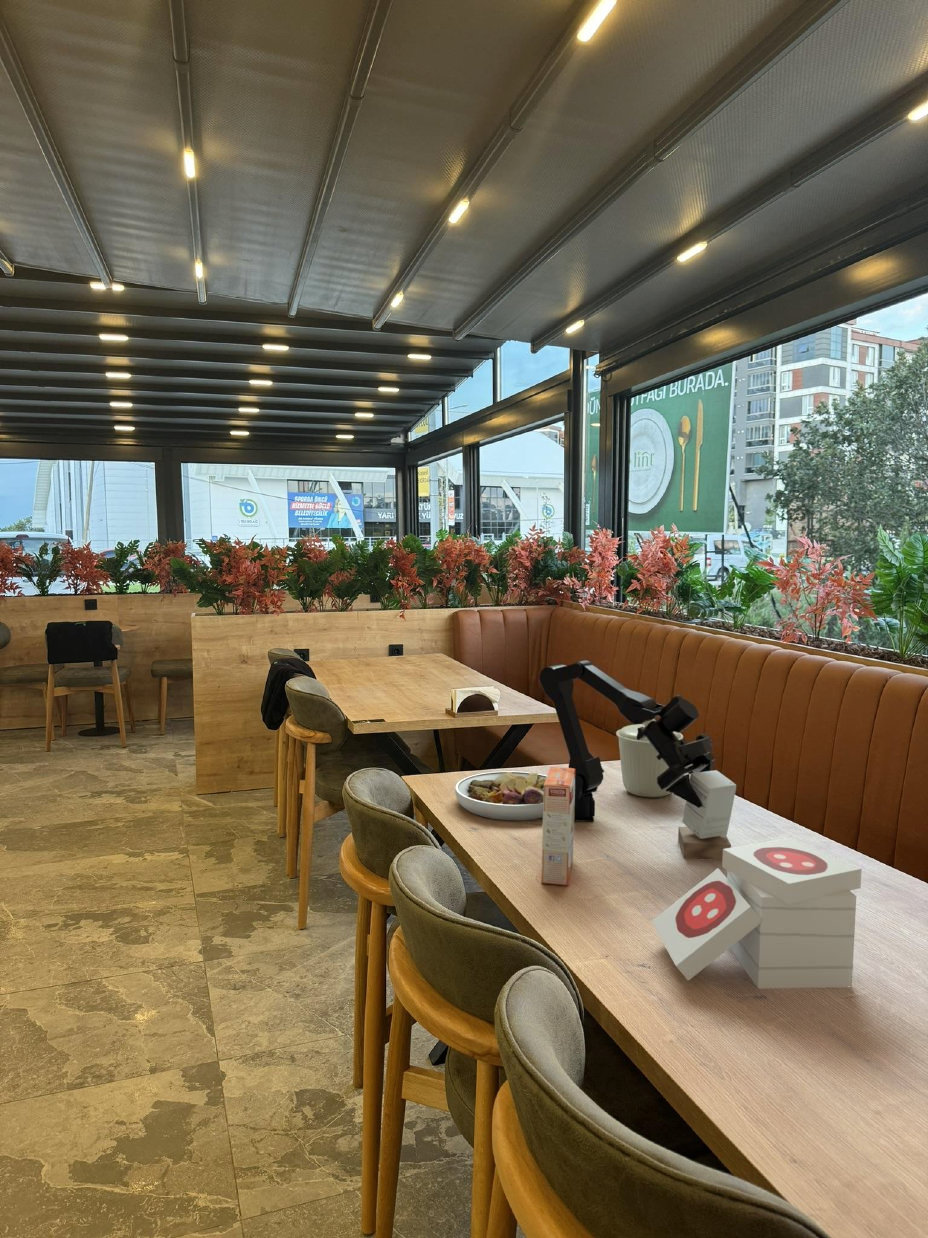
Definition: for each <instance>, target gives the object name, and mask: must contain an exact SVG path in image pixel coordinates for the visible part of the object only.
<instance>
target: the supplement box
mask: <svg viewBox="0 0 928 1238" xmlns="http://www.w3.org/2000/svg"><path fill="white" fill-rule="evenodd" d="M690 784H691V786H692V788H693V789H694V791H695V792H696V794H697V796H698V797H699V799H700V801H701V803H702V806H701V807H700V808H698V807H696V806H695V805H693V804H691V803H689V802H688V801H686V800H685V802H684V808H683V814H682V819H681V820H682V823H683V824H684V826H685V827H688V828H689V829H690V830H691V831H692V832H694V833H695V834H696V835H697V836H698V837H699V838H700V839H703V838H709V837H716V836H722V835H726V836H727V835H728V832H729V826H730V822H731V821H730V820H731V818H732V816H731V815H732V811H733V806H734V799H735V795H736V791H737V784H736V783H735V782H733V781H732V780H731V779H729V778H728V777H726V775H724V774H722V773H721V772H720V771H718V770H717V769H716V770H714V769H713V771H706V772H697V773H691V774H690Z"/></svg>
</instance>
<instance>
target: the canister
mask: <svg viewBox="0 0 928 1238" xmlns="http://www.w3.org/2000/svg"><path fill="white" fill-rule="evenodd" d="M651 721H656V722H657V720H656V718H654V719H653V720H651ZM651 721H647V722H644V723H641V724H636V725H635V724H630V725H626V726H623V727H622V728H621V729H617V731H616V732H615V735H616V737H617V738H618V748H619V757H620V758H619V759H620V769H621V770H620V771H621V778H622V783H623V787H624V788H625V790H626V791H627V792H628V793H630V794H631V795H634V796H637V797H643V798H663V797H665V796H668V795H670V794H671V792H669V791H668V792H667V791H666V789H667V788H669V787H667V788H665V789H663V790H661V788H660V787H659V786H658V784H657V777H658V776H659V775H661V774H662V773H663V772H664V771H666V770H667V769H668V768H669V767H668V766H667V765H666V763H665V762H664V761H663V759H661V760H658V759H657V757H656V756H658V755H659V754H658V753H657V751H656V750H655V749H654V747H653V746H652V745H651V743H650V742H649V741H648V739H647V738H646V737H645V738H643V739H640V740H637V733H638V728H640V727H645V726H647V725H648V724H649V723H650V722H651ZM673 733H674V734H675V735H676V737H677V738H678V739H679V740H681V739H683V740H684V735H683V734H682V733H681V732H680V733H677V732H673Z"/></svg>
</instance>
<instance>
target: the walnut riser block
mask: <svg viewBox="0 0 928 1238" xmlns="http://www.w3.org/2000/svg"><path fill="white" fill-rule="evenodd" d="M677 835H678V836H677V837H678V838H677V843H678V847H679V849H680V853H681V856H682V858H684V859H685V860H700V859H702V860H701V861H718V862H719V861H722V860H723V849H726V848H732V845H731V842H730V840H729V838H728V836H727V835H722V836H716V837H709V838H703V839H700V838H699V837H698V836H697V835H696V834H695V833H694V832H692V831H691V830H690V829H689V828H688V827H687V826H678V833H677ZM703 859H704V860H703Z"/></svg>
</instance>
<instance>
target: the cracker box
mask: <svg viewBox="0 0 928 1238" xmlns="http://www.w3.org/2000/svg"><path fill="white" fill-rule="evenodd" d="M546 776H547V777H546V780H545V783H544V792H543V817H542V841H541V842H542V844H541V847H542V848H541V884H546V885H548V884H549V885H556V886H565V887H567V886H569V881H570V878H571V871H572V866H573V861H574V859H573V858H574V838H575V837H574V834H575V833H574V831H575V821H574V807H575V769H574V768H568V767H561V766H549V770H548V772H547V775H546Z"/></svg>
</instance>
